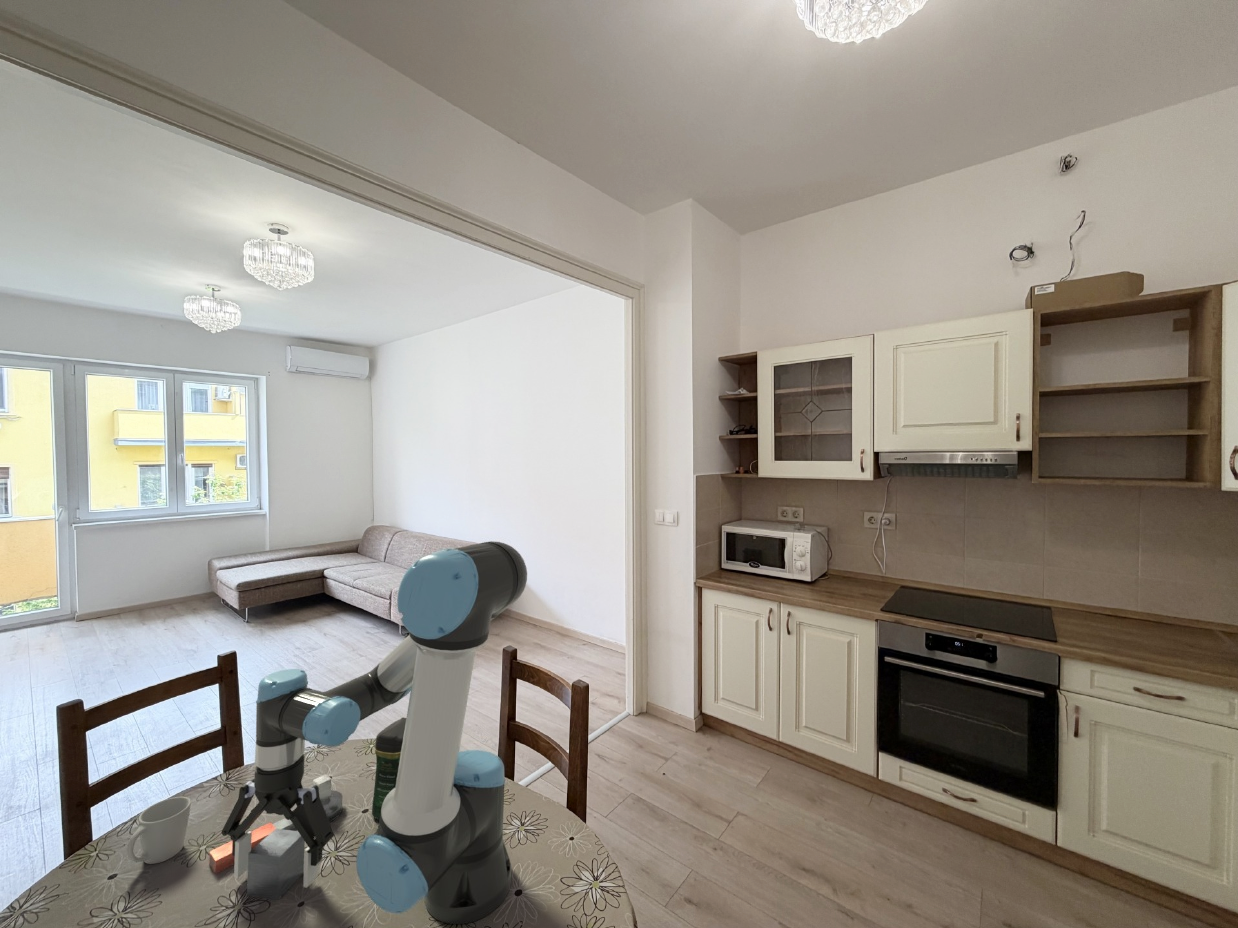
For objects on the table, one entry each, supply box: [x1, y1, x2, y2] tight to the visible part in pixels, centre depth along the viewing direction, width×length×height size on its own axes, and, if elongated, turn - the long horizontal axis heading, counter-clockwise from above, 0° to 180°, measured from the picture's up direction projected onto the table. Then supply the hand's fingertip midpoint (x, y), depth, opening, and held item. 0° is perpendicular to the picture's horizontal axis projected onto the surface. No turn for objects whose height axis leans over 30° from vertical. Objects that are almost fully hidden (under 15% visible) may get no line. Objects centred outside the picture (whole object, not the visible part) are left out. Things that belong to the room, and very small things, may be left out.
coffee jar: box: [371, 717, 407, 821], centre depth 110 cm, size 10×8×19 cm
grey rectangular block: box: [246, 829, 306, 901], centre depth 90 cm, size 6×6×8 cm
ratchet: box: [208, 773, 343, 875], centre depth 102 cm, size 23×8×8 cm, turn 144°
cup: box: [126, 796, 192, 865], centre depth 95 cm, size 8×10×8 cm
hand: (276, 876), depth 90 cm, fingers open, 13 cm apart
